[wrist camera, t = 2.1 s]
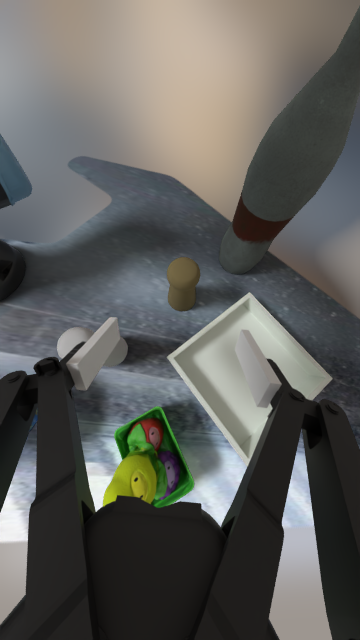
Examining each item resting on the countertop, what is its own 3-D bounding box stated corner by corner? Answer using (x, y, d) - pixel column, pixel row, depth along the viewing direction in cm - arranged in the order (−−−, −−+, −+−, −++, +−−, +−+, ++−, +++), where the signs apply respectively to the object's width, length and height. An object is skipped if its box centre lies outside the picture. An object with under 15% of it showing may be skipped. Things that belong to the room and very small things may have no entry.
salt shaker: (120, 330, 31) (82, 309, 18) (137, 353, 30) (108, 347, 17) (95, 348, 30) (36, 339, 17) (111, 373, 29) (60, 382, 16)
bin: (168, 357, 30) (166, 357, 26) (241, 300, 33) (249, 292, 29) (237, 452, 26) (248, 468, 22) (312, 376, 29) (332, 378, 25)
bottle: (250, 282, 34) (647, -148, 5) (211, 269, 35) (374, -173, 6) (259, 249, 37) (569, -175, 8) (222, 237, 37) (379, -190, 8)
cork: (198, 308, 33) (209, 282, 22) (170, 313, 32) (167, 290, 21) (192, 282, 34) (198, 247, 23) (165, 288, 34) (159, 254, 23)
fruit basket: (193, 463, 25) (205, 539, 15) (144, 495, 24) (117, 604, 13) (163, 396, 28) (154, 418, 17) (117, 422, 27) (76, 464, 16)
